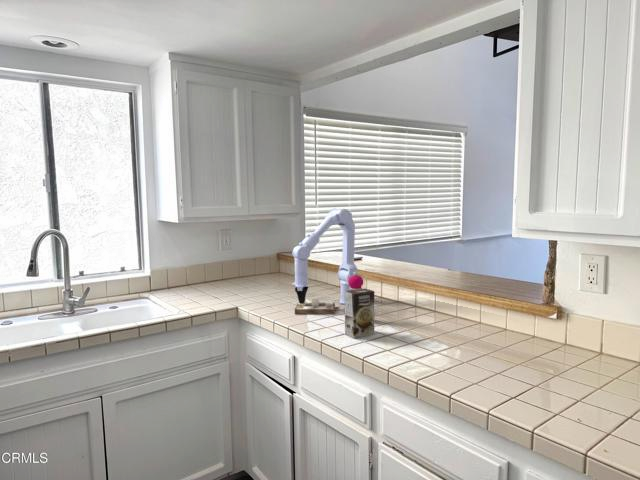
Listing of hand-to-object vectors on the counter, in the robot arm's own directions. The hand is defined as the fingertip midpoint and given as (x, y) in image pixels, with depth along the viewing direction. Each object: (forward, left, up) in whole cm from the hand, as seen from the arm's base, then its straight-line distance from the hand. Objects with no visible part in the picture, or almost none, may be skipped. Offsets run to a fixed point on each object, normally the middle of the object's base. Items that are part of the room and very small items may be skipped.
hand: (301, 303), depth 197 cm
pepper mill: (-24, +17, -3) cm, 29 cm away
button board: (-6, +1, -3) cm, 7 cm away
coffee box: (-25, +34, -3) cm, 42 cm away
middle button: (-6, 0, -1) cm, 6 cm away
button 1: (0, 0, -3) cm, 3 cm away
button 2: (-12, 0, -3) cm, 12 cm away
